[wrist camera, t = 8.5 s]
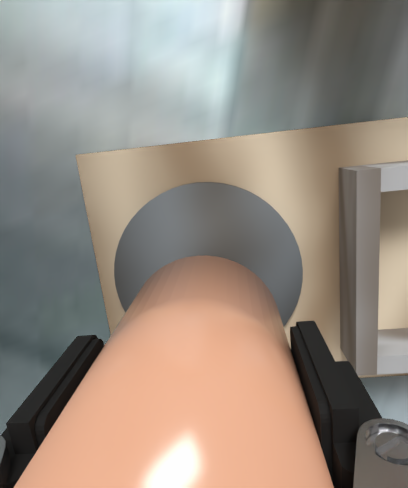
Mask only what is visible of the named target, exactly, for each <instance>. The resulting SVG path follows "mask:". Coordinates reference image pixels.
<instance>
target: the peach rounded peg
mask: <svg viewBox="0 0 408 488" xmlns="http://www.w3.org/2000/svg"><path fill="white" fill-rule="evenodd" d="M14 488H334V486H333V483H332V480H331V476H330V473H329V470H328V467H327V464H326V460H325V457H324V454H323V451H322V448H321V444H320V441H319V438H318V435H317V432H316V429H315V425H314V422H313V419H312V416H311V413H310V409H309V406H308V403H307V400H306V397H305V393H304V390H303V387H302V384H301V381H300V377H299V374H298V371H297V368H296V365H295V362H294V358H293V355H292V352H291V349H290V346H289V342H288V339H287V336H286V333H285V330H284V326H283V323H282V320H281V317H280V314H279V310H278V307H277V304H276V302H275V300H274V297H273V295H272V294H271V292H270V290H269V289H268V287H267V286H266V285H265V284H264V282H263V281H262V280H261V279H260V278H259V277H258V276H257V275H256V274H255V273H253V272H252V271H250V270H249V269H248V268H246V267H244V266H243V265H241V264H239V263H237V262H234V261H231V260H229V259H225V258H221V257H217V256H207V255H205V256H191V257H185V258H182V259H178V260H175V261H173V262H171V263H169V264H167V265H165V266H163V267H162V268H160V269H159V270H157V271H156V272H155V273H154V274H152V275H151V276H150V278H149V279H148V280H147V281H146V282H145V283H144V285H143V286H142V288H141V289H140V290H139V292H138V294H137V295H136V297H135V298H134V300H133V301H132V303H131V305H130V306H129V308H128V309H127V311H126V312H125V314H124V316H123V317H122V319H121V320H120V322H119V323H118V325H117V326H116V328H115V330H114V331H113V333H112V334H111V336H110V337H109V339H108V341H107V342H106V344H105V345H104V347H103V348H102V350H101V352H100V353H99V355H98V356H97V358H96V359H95V361H94V362H93V364H92V366H91V367H90V369H89V370H88V372H87V373H86V375H85V377H84V378H83V380H82V381H81V383H80V384H79V386H78V387H77V389H76V391H75V392H74V394H73V395H72V397H71V398H70V400H69V402H68V403H67V405H66V406H65V408H64V409H63V411H62V413H61V414H60V416H59V417H58V419H57V420H56V422H55V423H54V425H53V427H52V428H51V430H50V431H49V433H48V434H47V436H46V438H45V439H44V441H43V442H42V444H41V445H40V447H39V448H38V450H37V452H36V453H35V455H34V456H33V458H32V459H31V461H30V463H29V464H28V466H27V467H26V469H25V470H24V472H23V474H22V475H21V477H20V478H19V480H18V481H17V483H16V484H15V486H14Z"/></svg>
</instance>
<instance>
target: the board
mask: <svg viewBox="0 0 408 488" xmlns="http://www.w3.org/2000/svg"><path fill="white" fill-rule="evenodd" d="M76 160H77V165H78V170H79V175H80V180H81V186H82V191H83V196H84V201H85V206H86V211H87V216H88V221H89V226H90V231H91V237H92V242H93V247H94V252H95V257H96V262H97V267H98V272H99V277H100V283H101V288H102V293H103V298H104V303H105V308H106V313H107V318H108V323H109V328H110V334H112V333H113V331H114V330H115V328H116V326H117V325H118V323H119V322H120V320H121V319H122V317H123V316H124V314H125V312H126V311H127V309H128V308H129V306H130V305H131V303H132V301H133V300H134V298H135V297H136V295H137V294H138V292H139V290H140V289H141V288H142V286H143V285H144V283H145V282H146V281H147V280H148V279H149V278H150V276H151V275H152V274H154V273H155V272H156V271H157V270H159V269H160V268H162V267H163V266H165V265H167V264H169V263H171V262H173V261H175V260H178V259H182V258H185V257H191V256H205V255H207V256H217V257H221V258H225V259H229V260H231V261H234V262H237V263H239V264H241V265H243V266H244V267H246V268H248V269H249V270H250V271H252V272H253V273H255V274H256V275H257V276H258V277H259V278H260V279H261V280H262V281H263V282H264V284H265V285H266V286H267V287H268V289H269V290H270V292H271V294H272V295H273V297H274V300H275V302H276V304H277V307H278V310H279V314H280V317H281V320H282V323H283V326H284V330H285V333H286V336H287V339H288V342H289V346H290V349H291V342H290V327H292V326H296V322H299V321H315V323H316V325H317V327H318V328H319V330H320V332H321V334H322V336H323V338H324V340H325V342H326V344H327V346H328V348H329V350H330V352H331V354H332V356H333V358H334V360H335V361H349V362H350V363H351V365H352V366H353V368H354V370H355V372H356V373H357V375H358V377H359V378H365V377H383V376H402V375H408V117H402V118H393V119H385V120H376V121H367V122H358V123H350V124H341V125H332V126H324V127H315V128H306V129H297V130H289V131H280V132H271V133H262V134H254V135H245V136H236V137H228V138H219V139H210V140H201V141H193V142H184V143H175V144H166V145H158V146H149V147H140V148H131V149H123V150H114V151H105V152H97V153H88V154H79V155H76Z"/></svg>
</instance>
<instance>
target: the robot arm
mask: <svg viewBox="0 0 408 488" xmlns="http://www.w3.org/2000/svg"><path fill="white" fill-rule="evenodd" d="M290 342H291V352H292V355H293V358H294V362H295V365H296V368H297V371H298V374H299V377H300V381H301V384H302V387H303V390H304V393H305V397H306V400H307V403H308V406H309V409H310V413H311V416H312V419H313V422H314V425H315V429H316V432H317V435H318V438H319V441H320V444H321V448H322V451H323V454H324V457H325V460H326V464H327V467H328V470H329V473H330V476H331V480H332V483H333V486H334V488H408V425H407V424H405V423H403V422H400V421H397V420H393V419H385V418H382V417H381V415H380V413H379V412H378V410H377V408H376V406H375V405H374V403H373V401H372V399H371V398H370V396H369V394H368V392H367V391H366V389H365V387H364V386H363V384H362V382H361V380H360V379H359V377H358V375H357V373H356V372H355V370H354V368H353V366H352V365H351V363H350V362H349V361H335V360H334V358H333V356H332V354H331V352H330V350H329V348H328V346H327V344H326V342H325V340H324V338H323V336H322V334H321V332H320V330H319V328H318V327H317V325H316V323H315V321H299V322H296V326H292V327H290ZM103 347H104V344H103V341H102V339H98V338H97V336H96V335H87V336H78V337H76V339H75V340H74V341H73V342H72V343H71V345H70V346H69V347H68V348H67V350H66V351H65V352H64V353H63V354H62V356H61V357H60V358H59V359H58V361H57V362H56V363H55V364H54V365H53V367H52V368H51V369H50V370H49V372H48V373H47V374H46V375H45V377H44V378H43V379H42V380H41V381H40V383H39V384H38V385H37V386H36V388H35V389H34V390H33V391H32V392H31V394H30V395H29V396H28V397H27V399H26V400H25V401H24V402H23V403H22V405H21V406H20V407H19V408H18V410H17V411H16V412H15V413H14V415H13V416H12V417H11V418H10V419H9V421H8V422H7V423H6V425H7V429H6V430H5V431H4V432H3V434H2V435H1V436H0V488H14V486H15V484H16V483H17V481H18V480H19V478H20V477H21V475H22V474H23V472H24V470H25V469H26V467H27V466H28V464H29V463H30V461H31V459H32V458H33V456H34V455H35V453H36V452H37V450H38V448H39V447H40V445H41V444H42V442H43V441H44V439H45V438H46V436H47V434H48V433H49V431H50V430H51V428H52V427H53V425H54V423H55V422H56V420H57V419H58V417H59V416H60V414H61V413H62V411H63V409H64V408H65V406H66V405H67V403H68V402H69V400H70V398H71V397H72V395H73V394H74V392H75V391H76V389H77V387H78V386H79V384H80V383H81V381H82V380H83V378H84V377H85V375H86V373H87V372H88V370H89V369H90V367H91V366H92V364H93V362H94V361H95V359H96V358H97V356H98V355H99V353H100V352H101V350H102V348H103Z"/></svg>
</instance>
